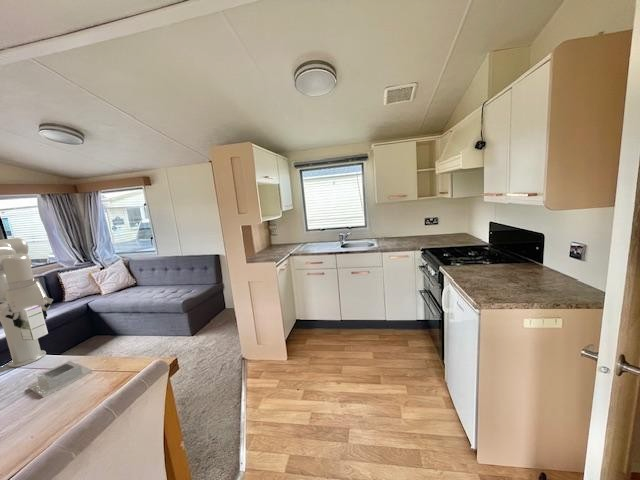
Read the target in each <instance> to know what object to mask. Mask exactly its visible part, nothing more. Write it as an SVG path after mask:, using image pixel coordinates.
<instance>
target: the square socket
mask: <svg viewBox="0 0 640 480" xmlns="http://www.w3.org/2000/svg"><path fill="white" fill-rule="evenodd" d="M92 373H93V369H92V368H89V367H87V366H85V365H82V364H81V363H80V364H79V363H76V362H73V361H71V360H69V361H66V362H64V363H61V364H59V365H58V366H56V367H53V368H51V369H49V370H47V371H46V370H45V371H44V372H42V373H40V374H38V375H36V378H37V381H36V382H34V383H31V384H29V385H28V386H27V388H28V389H29V390H30V391H32V392H33V393H35V394H36V395H38V396H40V397H41V398H45V397H47V396H49V395H51V394H53V393H55V392H57V391H59V390H61V389H63V388H65V387H66V386H68V385H70V384H73V383H75V382H77V381H79V379H82V378H84V377H86V376H89V374H92Z"/></svg>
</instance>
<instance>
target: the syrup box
mask: <svg viewBox="0 0 640 480" xmlns="http://www.w3.org/2000/svg"><path fill="white" fill-rule="evenodd" d="M18 318H19V319H20V322H21V326H22V327H21V328H20V332H21V335H22V339H23V340H35V339H38V340H39V339H40V338H42V337H45V336H46V335H49V332H48V328H47V327H48V326H47V324H46V321H45V320H44V316H43V312H42V308H41V306H37V305H35V306H32V307H28V308H26V309H23V310H22V312H20V313H19V316H18Z"/></svg>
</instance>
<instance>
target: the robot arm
mask: <svg viewBox="0 0 640 480" xmlns="http://www.w3.org/2000/svg"><path fill="white" fill-rule="evenodd" d="M28 254H29V245H28V243H27V242H26V241H25V240H24V239H22V238H20V237H15V238H14V237H13V238H5V239H0V324H1V326H2V329H3V331H4V335H5V338H6V343H7V346H8V349H9V352H10V353H9V354H10V357H11V359H12V360H11V361H9V362H8V364H7V365H8V367H9V368H17V367H22V366H26V365H29V364H32V363H34V362H36V361H39V360H40V359H42V358H43V357H45V356H46V354H47V352H46V350H43V349H42V350H41V346H40V343H39V338H38V339H35V340H23V339H22V335H21V332H20V328H21V327H22V326H21V322H20V319H19V318H18V316H19V313H20V312H22V310H23V309H26V308H28V307H32V306H35V305H37V306H41V308H42V312H43V316H44V320H47V317H48V313H47V311H48V310H49V309H50V307H51V304H52V302H53V301H54V299H53V298H50V297H48V296H47V293H46V291H45V290H44V288H43V286H42V283H41V282H40V278H39V277H38V278H35V276H34V273H33V268H32V262H33V261H32V258H31V256H30V255H28ZM44 355H45V356H44ZM12 361H13V362H12ZM10 362H11V363H10Z"/></svg>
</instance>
